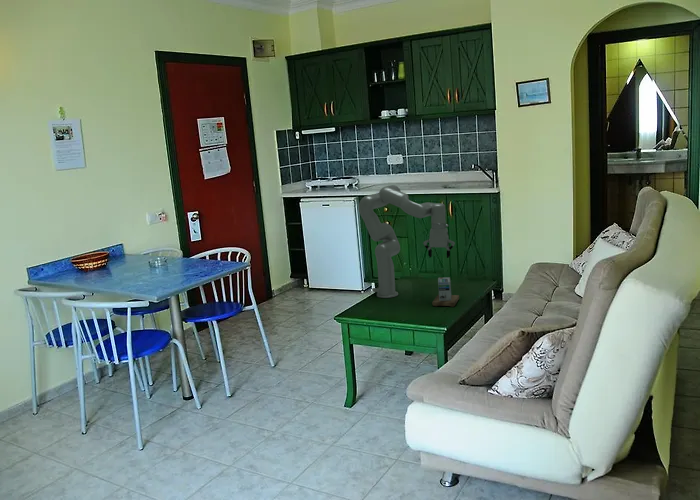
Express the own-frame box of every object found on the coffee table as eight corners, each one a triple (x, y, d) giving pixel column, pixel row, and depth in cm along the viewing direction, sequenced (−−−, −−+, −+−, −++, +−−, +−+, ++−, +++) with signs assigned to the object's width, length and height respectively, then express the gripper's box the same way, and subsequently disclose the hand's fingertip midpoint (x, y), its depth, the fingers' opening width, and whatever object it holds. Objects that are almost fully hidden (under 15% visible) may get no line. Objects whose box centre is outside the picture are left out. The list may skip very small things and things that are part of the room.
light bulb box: (451, 301, 327) (450, 281, 325) (438, 301, 328) (438, 281, 326) (451, 295, 337) (450, 276, 335) (438, 296, 338) (437, 277, 336)
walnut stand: (432, 306, 328) (432, 302, 327) (437, 299, 342) (437, 294, 341) (454, 307, 324) (454, 302, 323) (459, 299, 338) (459, 295, 337)
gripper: (455, 225, 330) (456, 256, 333) (424, 225, 336) (425, 255, 339) (453, 227, 323) (453, 259, 326) (421, 227, 329) (422, 258, 332)
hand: (439, 257), depth 333 cm, fingers open, 9 cm apart
